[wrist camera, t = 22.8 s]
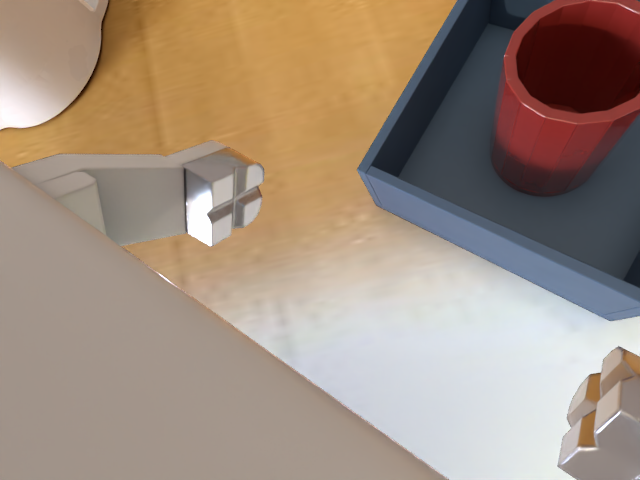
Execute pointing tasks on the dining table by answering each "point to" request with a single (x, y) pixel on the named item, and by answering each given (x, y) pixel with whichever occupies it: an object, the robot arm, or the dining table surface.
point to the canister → (566, 94)
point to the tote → (488, 188)
